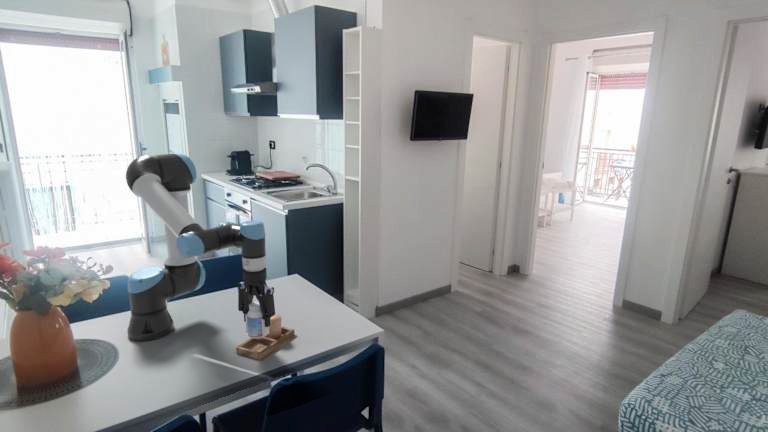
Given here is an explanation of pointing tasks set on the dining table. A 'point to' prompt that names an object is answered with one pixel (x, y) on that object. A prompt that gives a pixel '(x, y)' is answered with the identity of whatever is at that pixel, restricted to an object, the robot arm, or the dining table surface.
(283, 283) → the dining table surface
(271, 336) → the peach capsule shape
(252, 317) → the pill bottle
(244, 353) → the rack
